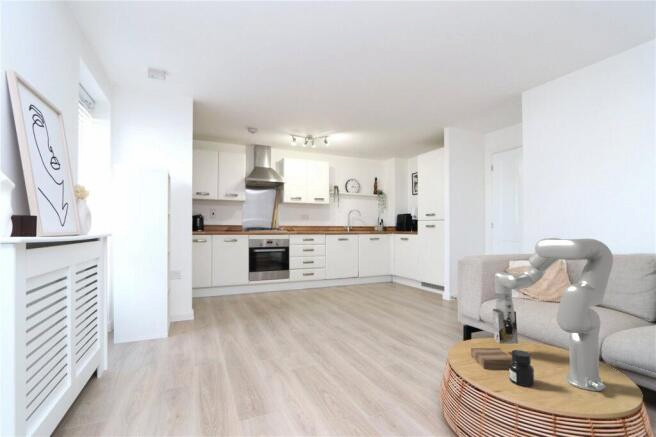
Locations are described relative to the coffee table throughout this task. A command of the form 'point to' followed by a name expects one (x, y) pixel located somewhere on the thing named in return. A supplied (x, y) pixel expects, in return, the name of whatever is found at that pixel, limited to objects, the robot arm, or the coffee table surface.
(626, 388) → the coffee table surface
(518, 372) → the ink bottle
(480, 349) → the walnut block
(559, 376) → the coffee table surface
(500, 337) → the coffee box
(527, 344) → the coffee table surface
